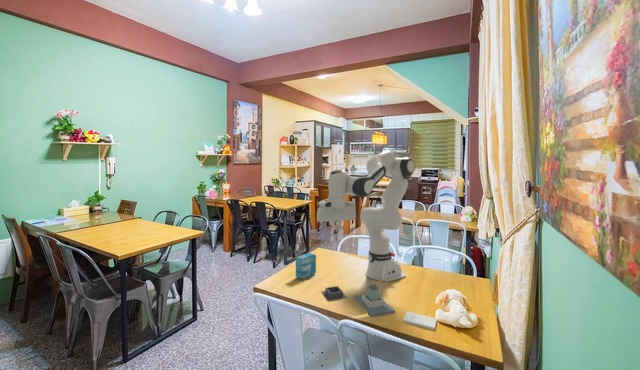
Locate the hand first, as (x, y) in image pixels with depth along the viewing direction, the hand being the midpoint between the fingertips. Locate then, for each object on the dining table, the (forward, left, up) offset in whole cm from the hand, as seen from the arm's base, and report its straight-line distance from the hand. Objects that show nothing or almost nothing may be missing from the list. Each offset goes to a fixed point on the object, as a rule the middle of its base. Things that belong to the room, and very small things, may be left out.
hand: (336, 229), depth 148 cm
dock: (-10, +21, -31) cm, 39 cm away
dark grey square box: (+4, +8, -31) cm, 32 cm away
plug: (-10, +21, -30) cm, 38 cm away
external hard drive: (-22, +39, -32) cm, 55 cm away
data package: (+10, -20, -31) cm, 39 cm away
